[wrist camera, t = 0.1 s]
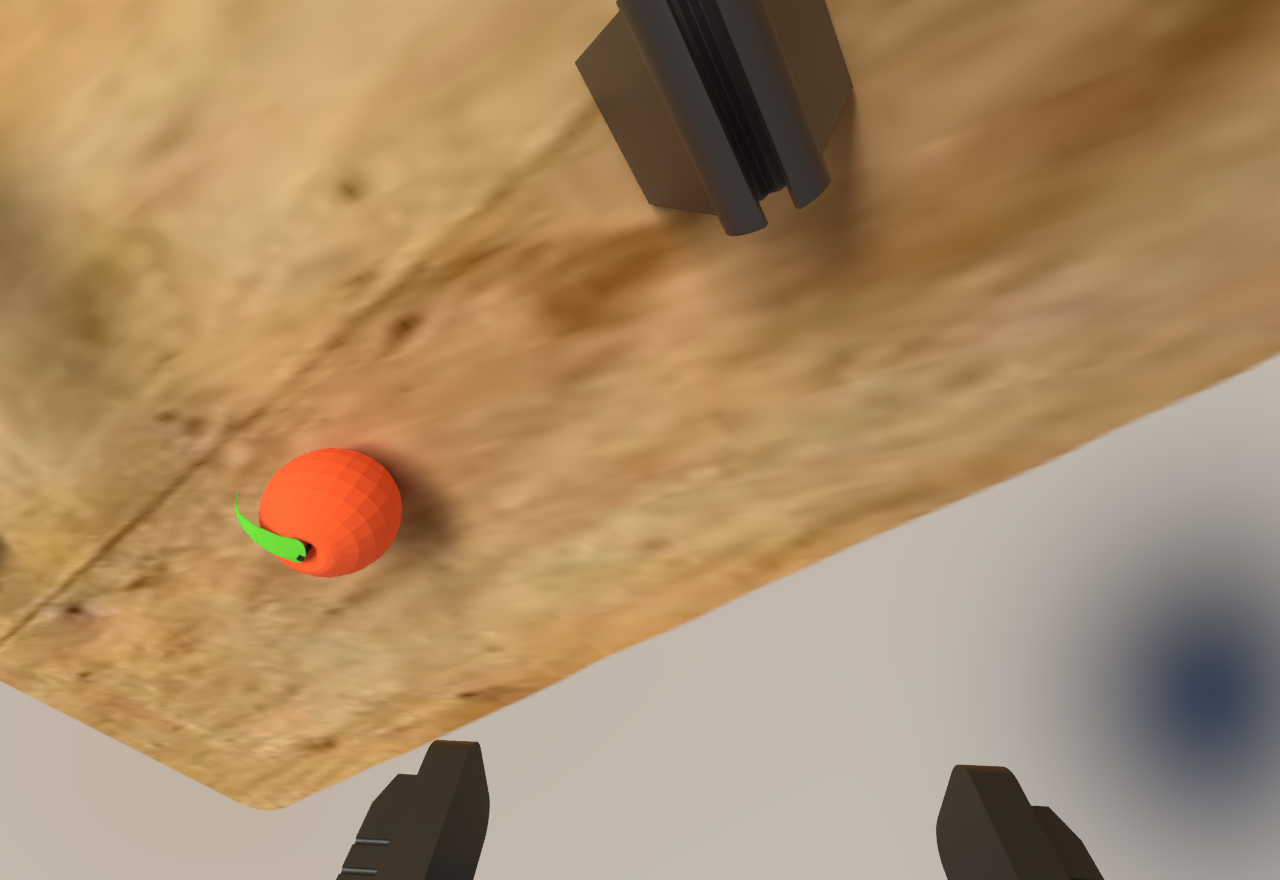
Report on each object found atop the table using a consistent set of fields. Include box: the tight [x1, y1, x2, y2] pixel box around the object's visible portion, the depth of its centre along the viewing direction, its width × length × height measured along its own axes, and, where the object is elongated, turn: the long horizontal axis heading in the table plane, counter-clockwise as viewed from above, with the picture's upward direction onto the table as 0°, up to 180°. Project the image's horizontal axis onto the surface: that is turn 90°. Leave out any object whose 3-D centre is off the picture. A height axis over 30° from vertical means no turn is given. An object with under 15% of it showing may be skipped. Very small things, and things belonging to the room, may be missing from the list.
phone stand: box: [575, 0, 853, 236], centre depth 19 cm, size 9×6×12 cm, turn 119°
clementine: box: [235, 448, 402, 577], centre depth 33 cm, size 8×7×7 cm
